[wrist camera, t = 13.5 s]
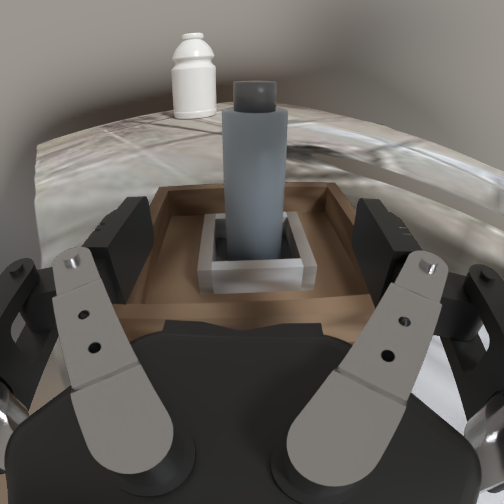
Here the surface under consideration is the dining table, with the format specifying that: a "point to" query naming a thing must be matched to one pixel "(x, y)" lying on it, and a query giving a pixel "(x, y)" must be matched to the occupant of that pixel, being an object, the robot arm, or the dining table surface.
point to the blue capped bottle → (254, 171)
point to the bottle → (193, 79)
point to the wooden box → (250, 266)
